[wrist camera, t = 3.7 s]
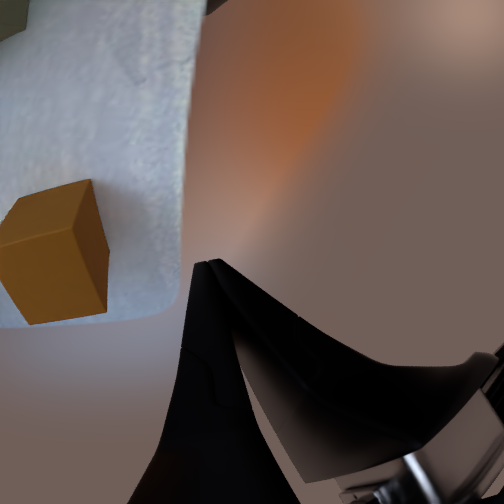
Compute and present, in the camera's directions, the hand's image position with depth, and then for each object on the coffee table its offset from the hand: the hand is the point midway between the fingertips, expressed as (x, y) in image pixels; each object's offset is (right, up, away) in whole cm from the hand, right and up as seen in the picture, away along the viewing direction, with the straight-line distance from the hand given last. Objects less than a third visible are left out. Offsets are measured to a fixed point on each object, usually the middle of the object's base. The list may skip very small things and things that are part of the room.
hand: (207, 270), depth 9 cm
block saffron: (-7, +2, +2) cm, 8 cm away
